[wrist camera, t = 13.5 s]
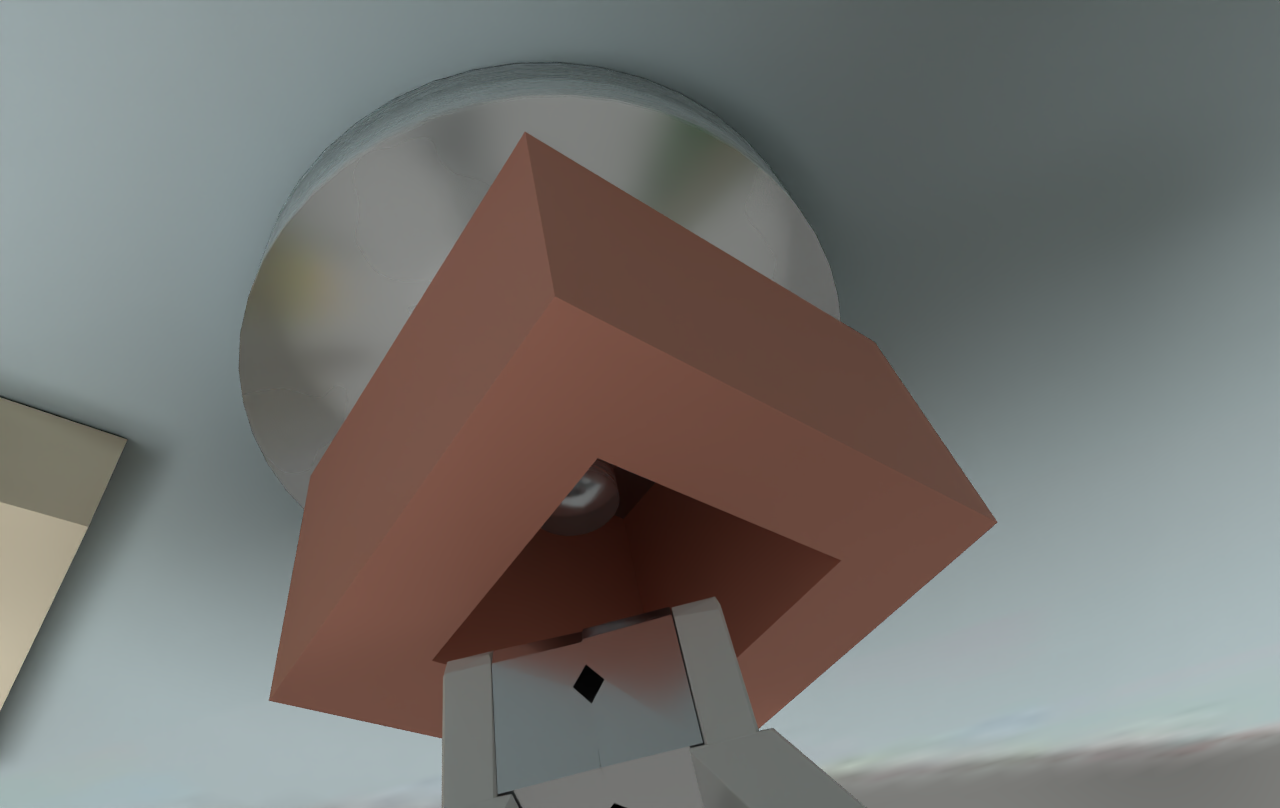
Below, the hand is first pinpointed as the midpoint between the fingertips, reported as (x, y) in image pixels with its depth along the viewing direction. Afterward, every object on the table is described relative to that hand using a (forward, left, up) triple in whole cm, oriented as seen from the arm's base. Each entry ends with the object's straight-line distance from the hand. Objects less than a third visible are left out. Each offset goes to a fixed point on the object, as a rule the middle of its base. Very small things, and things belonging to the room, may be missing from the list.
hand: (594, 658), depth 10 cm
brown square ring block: (+1, 0, -5) cm, 5 cm away
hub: (0, 0, -6) cm, 6 cm away
